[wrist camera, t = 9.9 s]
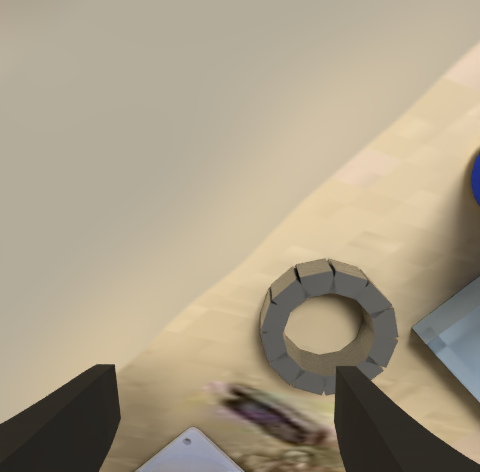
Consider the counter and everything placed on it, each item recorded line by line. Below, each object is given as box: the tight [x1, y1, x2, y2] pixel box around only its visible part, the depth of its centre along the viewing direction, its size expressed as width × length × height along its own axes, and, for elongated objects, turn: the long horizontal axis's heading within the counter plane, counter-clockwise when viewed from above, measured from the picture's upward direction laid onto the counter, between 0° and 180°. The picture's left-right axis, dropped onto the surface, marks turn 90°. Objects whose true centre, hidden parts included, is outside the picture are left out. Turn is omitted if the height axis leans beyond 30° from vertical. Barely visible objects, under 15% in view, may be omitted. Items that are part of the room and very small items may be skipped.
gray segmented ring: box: [260, 259, 398, 395], centre depth 21 cm, size 7×7×2 cm
